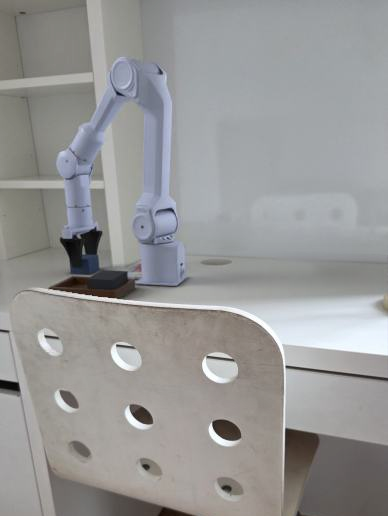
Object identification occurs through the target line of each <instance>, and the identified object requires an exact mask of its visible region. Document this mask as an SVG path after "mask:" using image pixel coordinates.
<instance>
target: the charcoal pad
mask: <svg viewBox="0 0 388 516" xmlns="http://www.w3.org/2000/svg"><path fill="white" fill-rule="evenodd" d="M127 272H128V271H127V270H109V269H108V270H106V269H102V270H100V271H99V272H96V273H94V274H93V275H90V276H88V277H89V278H87V279H86V280H87V289H103V290H114V289H116V288H117V287H119V286H121V285H122V284H124V283H126V282H127V281H128V274H127Z"/></svg>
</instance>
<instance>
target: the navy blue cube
mask: <svg viewBox="0 0 388 516" xmlns="http://www.w3.org/2000/svg"><path fill="white" fill-rule="evenodd" d="M68 259H69V258H68ZM69 269H70V274H72V275H91V274H94V273H95V272H97V271H99V270H100V259H99V254H97V255H86V254H83V253H82V267H81V268H73V267H72V265H71V262H70V259H69Z"/></svg>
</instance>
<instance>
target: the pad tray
mask: <svg viewBox="0 0 388 516" xmlns="http://www.w3.org/2000/svg"><path fill="white" fill-rule="evenodd" d="M89 277H90V276H81V275H80V276H79V275H76V276H75V275H71V276H69V277H68V278H66V279H64V280H61V281H59V282H57V283H55V284H53V285H50V286H49V287H48V290H49V289H53V290H60V291H66V292H72V293H78V294H85V295H92V296H98V297H108V298H117V299H119V300H121V299H122V298H123V297H125V296H127V295H128V294H129V293H131V292H133V291H134V290H135V289H136V279H128V281H127V282H126V283H124V284H122V285H121V286H119V287H117V288H116V289H114V290H103V289H87V280H86V279H87V278H89Z"/></svg>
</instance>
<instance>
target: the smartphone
mask: <svg viewBox="0 0 388 516" xmlns="http://www.w3.org/2000/svg"><path fill="white" fill-rule="evenodd" d="M127 274H128V279H135V280H139V279H141V278H142V269H141V263H140V264H138V265H136V266H134V267H133V268H131V269H130V270H129V271H127Z"/></svg>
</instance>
